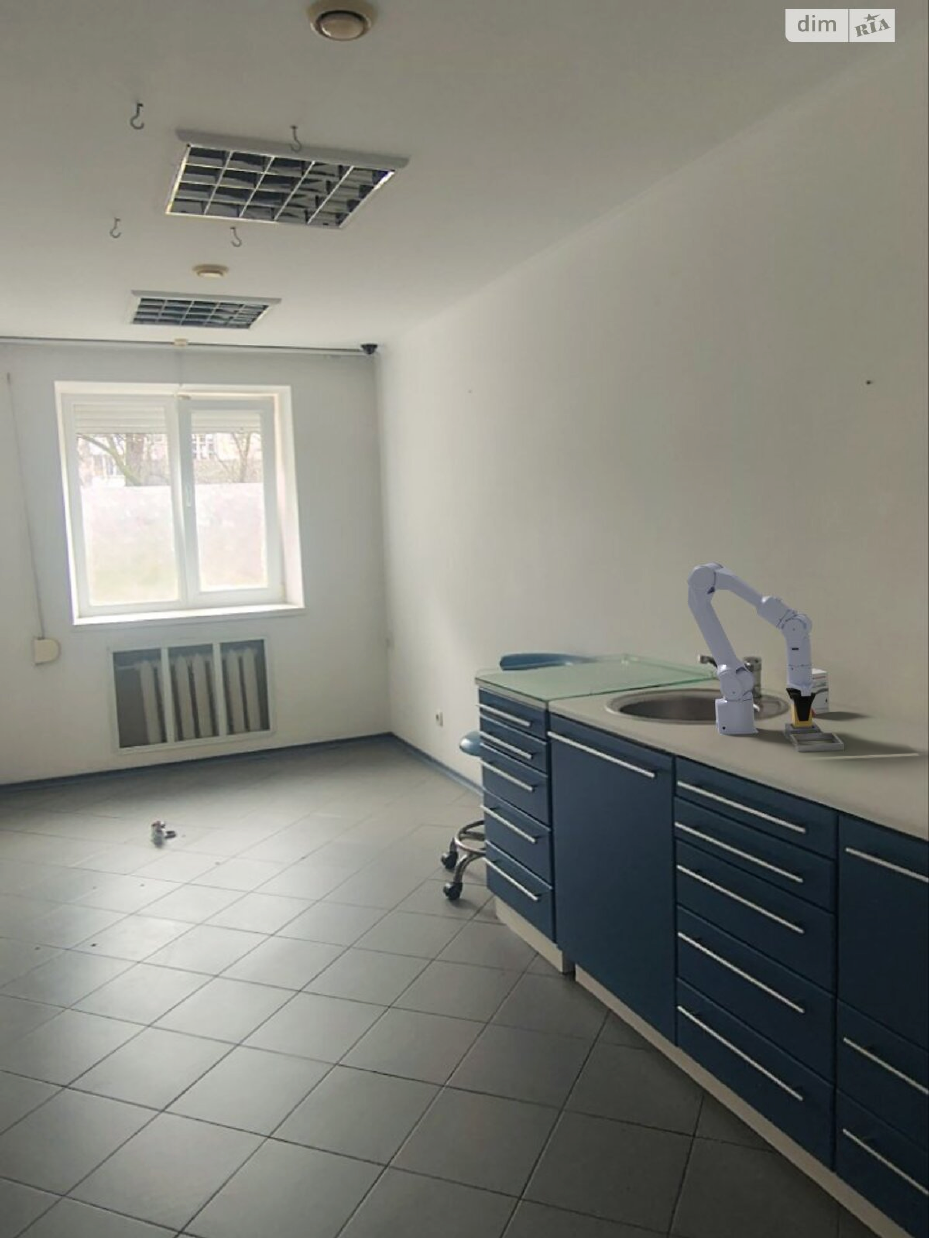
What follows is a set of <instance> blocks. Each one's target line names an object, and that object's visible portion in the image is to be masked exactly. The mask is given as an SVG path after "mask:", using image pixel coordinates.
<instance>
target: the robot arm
mask: <svg viewBox="0 0 929 1238" xmlns="http://www.w3.org/2000/svg"><path fill="white" fill-rule="evenodd" d="M686 581H687V585H688V591H687V592H688V593H687V605H688V607H689V609H690V612H691V613H692V615H693V618H694V620H695V621H696V624H697V626H698V628H699V630H700V633H701V634H702V637H703V638H704V640H705V642H706V645H707V647H708V649H709V651H710V653H711V655H712V657H713V659H714V662H715V664H716V666H717V668H716V669H717V670H716V672H717V673H716V675H717V678H718V681H719V691H720V693H721V694H722V696H723V698H716V699H715V701H714V702H715V704H714V705H715V719H716V720H715V727H716V729H717V732H718V734H719V735H721V736H722V735H725V736H726V735H740V734H741V735H742V734H743V735H744V734H746V735H747V734H758V733H759V731H758V730H757V727H756V725H755V710H754V709H755V708H754V695H753V693H752V690H753V689H754V687H755V684H756V680H755V679H756V678H755V676H754V674H753V672H751V671H750V670H749V669H748V668H747V667H746V666H745V664H744V662H743V661H742V660H741V659H739V658H738V657H737V655H736V652H735V651H734V648H733V647H732V645H731V642H730V641H729V638H728V637H727V634H726V632H725V629H724V628H723V626H722V624H721V622H720V620H719V617H718V615H717V613H716V611H715V609H714V607H713V604H712V600H713V598H714V595H715V592H716V591H717V590H718V591H730V592H731V593H732V594H734V595H736V596H737V597H739V598H741V599H743V600H744V601H745V602H747V603H749V604H750V605H752V606H754V607H755V609H756V614H757V615H758V616H759V617H761V618H762V619H763V620H765V621H766V622H768V623H770V624H771V625H772V626H773V627H775V628H777V630H781V634H782V636H783V638H785V659H786V679H787V680H786V686H787V687H786V688H785V691H786V692H787V695H788V697H789V698H790V700H791V699H793V701H794V703H795V707H796V711H797V716H798V719H799V721H808V720H809V715H810V709H811V705H812V702H813V700H814V698H815V696H816V694H815V693H811V690H810V689H811V687H812V686H813V685H816V684H818V681H816V680H812V669H813V667H812V646H811V636H810V633H811V632H812V629H813V621H812V620H811V619H810V618H809V617H808V616H807V614H805V613H803V612H802V613H801V612H800V613H799V611H798V610H797V609H796V608H793V609H792V608H790V606H788V605H786V604H785V603H783V602H782V598H781V597H779V596H773V595H767V596H764V595H763V594H762V593H760V592H759V591H758V590H756V589H755V588H753V586H751V585H750V584H749V583H748V582H746V581H745V580H743V579H742V578H741V577H739V576H738V575H736V574H735V573H734V572H733V571H732V570H731V569H729V568H727V567H724V566H723V565H722V564H721V563H720V562H716V561H712V562H708V563H706V564H703V565H697V566H695V567H694V568H693V569H692V570H691V571H690V573H689V576H688V578H687V579H686ZM791 687H792V688H791ZM759 734H760V733H759Z"/></svg>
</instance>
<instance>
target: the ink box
mask: <svg viewBox="0 0 929 1238" xmlns="http://www.w3.org/2000/svg"><path fill="white" fill-rule="evenodd" d="M812 680H816V681H818V684H816V685H813V686H812V687H811V689H810V690H811V693H815V694H816V696H815V698H814V700H813V702H812V705H811V708H812V716H813V715H814V716H815V715H819V714H820V715H821V714H826V713H827V714H828V713H830V695H829V694H830V693H829V692H830V691H829V690H830V689H829V687H830V685H829V672H828V671H825V670H822V669H819V668H812ZM790 688H792V687H790Z"/></svg>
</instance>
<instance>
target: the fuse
mask: <svg viewBox="0 0 929 1238" xmlns="http://www.w3.org/2000/svg"><path fill="white" fill-rule="evenodd" d="M790 712H791V723H792V727H793V728H794V729H811V728H812V722H813V715H812V708H811V709H810V715H809V720H808V721H799V719H798V716H797V711H796V707H795V703H794V701H793V699H790Z"/></svg>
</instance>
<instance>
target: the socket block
mask: <svg viewBox="0 0 929 1238" xmlns="http://www.w3.org/2000/svg"><path fill="white" fill-rule="evenodd" d="M780 732H781V733H782V735H783V736H784V738H785V739H786V740H790V734H809V733H823V732H822V730H821V728H820V727H819V725H818V724H817V723H816V722H815V721H812V728H811V729H794V728H793V727H792V722H787V723H784V729H783V728H782V729H780Z"/></svg>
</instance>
